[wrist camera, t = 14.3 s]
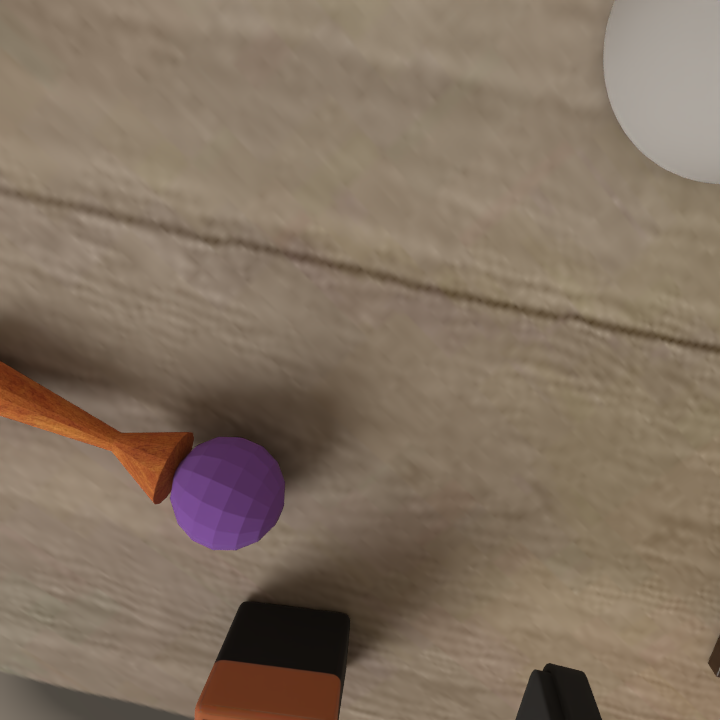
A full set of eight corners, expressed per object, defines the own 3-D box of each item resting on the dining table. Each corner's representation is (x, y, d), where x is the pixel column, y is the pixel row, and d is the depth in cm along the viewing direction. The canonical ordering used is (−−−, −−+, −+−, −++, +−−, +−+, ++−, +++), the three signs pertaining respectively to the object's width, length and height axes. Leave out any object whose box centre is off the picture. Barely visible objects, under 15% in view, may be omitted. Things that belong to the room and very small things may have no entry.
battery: (346, 672, 41) (324, 816, 32) (238, 658, 42) (184, 796, 32) (351, 610, 40) (331, 739, 30) (241, 596, 41) (186, 720, 31)
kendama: (-69, 316, 34) (290, 475, 32) (3, 319, 40) (309, 454, 38) (-110, 423, 34) (243, 585, 33) (-32, 411, 40) (270, 547, 39)
